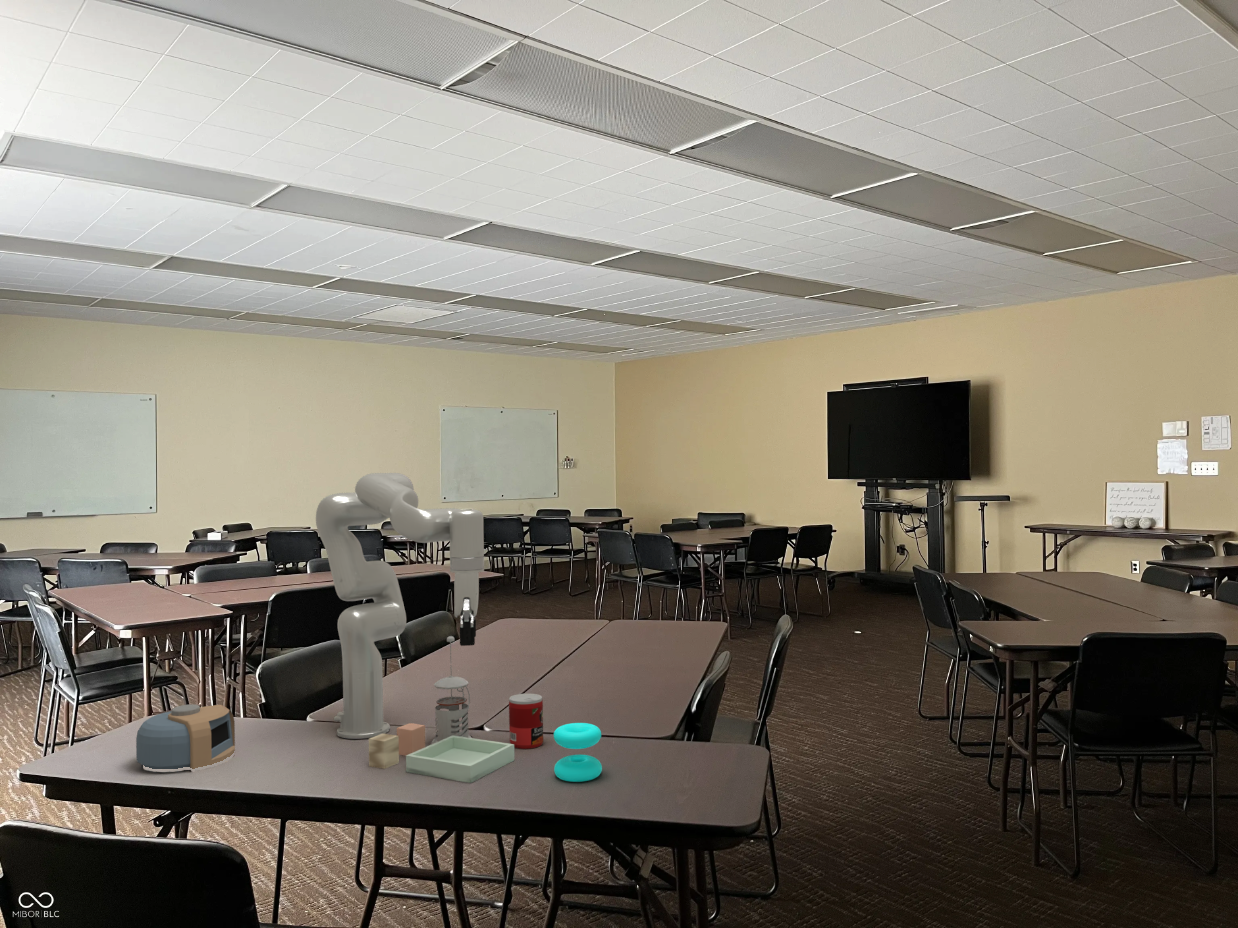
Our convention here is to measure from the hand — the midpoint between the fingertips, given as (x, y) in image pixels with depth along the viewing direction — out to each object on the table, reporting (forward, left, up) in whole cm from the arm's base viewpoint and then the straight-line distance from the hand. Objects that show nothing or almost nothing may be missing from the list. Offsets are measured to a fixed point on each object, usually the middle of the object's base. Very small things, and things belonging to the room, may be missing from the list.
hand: (468, 641), depth 198 cm
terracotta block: (-15, -2, -26) cm, 30 cm away
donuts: (+28, 0, -26) cm, 38 cm away
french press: (-12, +10, -26) cm, 31 cm away
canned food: (+6, +14, -26) cm, 30 cm away
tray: (+1, -5, -26) cm, 27 cm away
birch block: (-15, -11, -26) cm, 32 cm away
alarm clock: (-59, -27, -27) cm, 70 cm away
